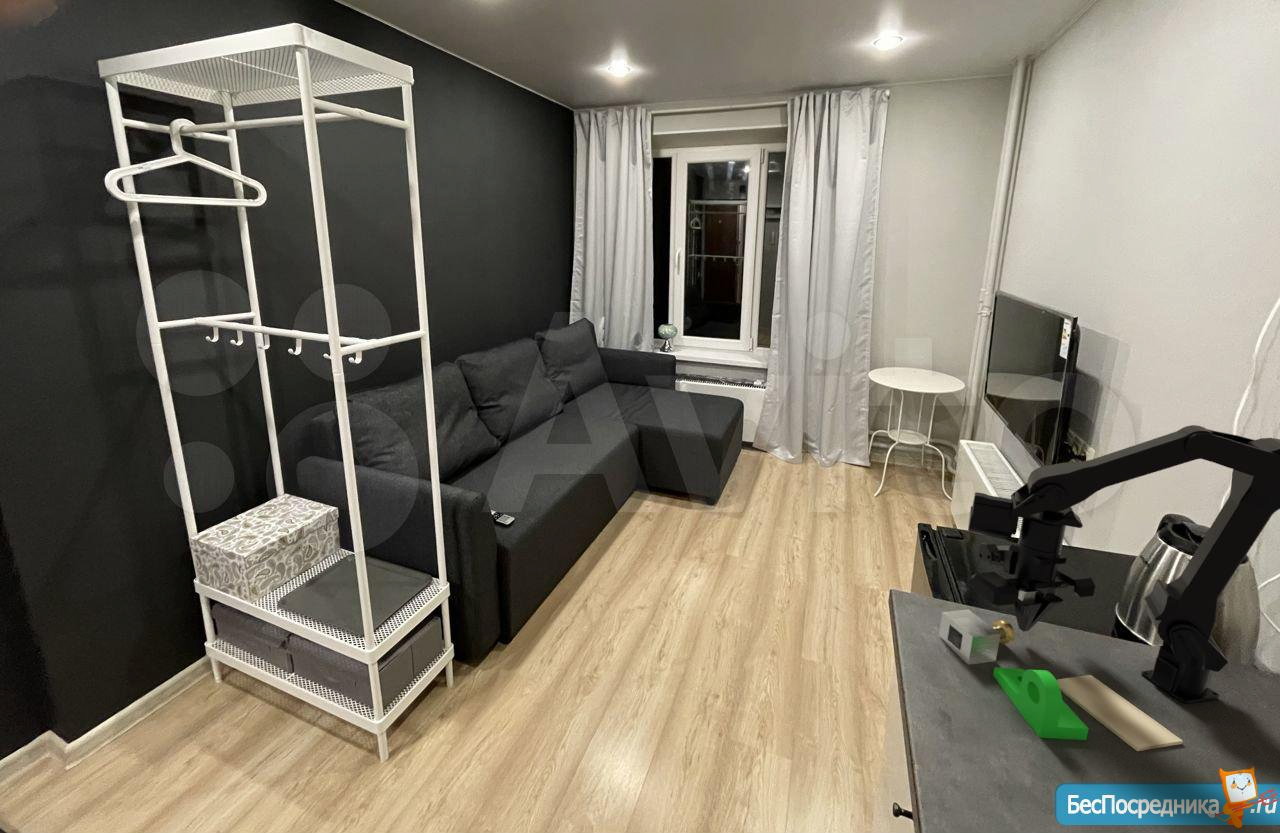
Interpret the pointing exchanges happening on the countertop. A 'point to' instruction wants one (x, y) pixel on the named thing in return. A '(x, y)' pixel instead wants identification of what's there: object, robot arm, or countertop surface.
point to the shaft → (1004, 631)
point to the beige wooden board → (1117, 713)
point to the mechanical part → (1041, 703)
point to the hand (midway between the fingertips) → (1023, 629)
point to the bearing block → (969, 636)
